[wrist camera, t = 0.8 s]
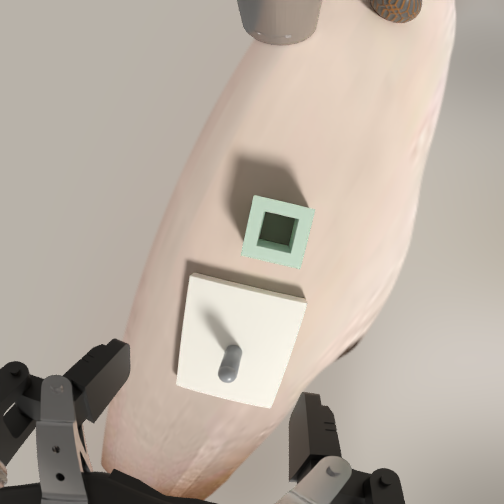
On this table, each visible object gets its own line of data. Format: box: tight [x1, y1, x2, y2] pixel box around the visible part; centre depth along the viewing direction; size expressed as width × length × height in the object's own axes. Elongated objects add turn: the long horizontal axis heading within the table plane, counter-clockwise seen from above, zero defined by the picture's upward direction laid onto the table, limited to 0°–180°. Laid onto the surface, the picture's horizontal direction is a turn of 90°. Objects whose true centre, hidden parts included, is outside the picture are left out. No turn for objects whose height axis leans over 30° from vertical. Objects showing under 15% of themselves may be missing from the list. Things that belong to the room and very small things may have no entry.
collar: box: [241, 195, 315, 269], centre depth 26 cm, size 6×6×4 cm
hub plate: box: [176, 272, 307, 409], centre depth 28 cm, size 16×13×7 cm
